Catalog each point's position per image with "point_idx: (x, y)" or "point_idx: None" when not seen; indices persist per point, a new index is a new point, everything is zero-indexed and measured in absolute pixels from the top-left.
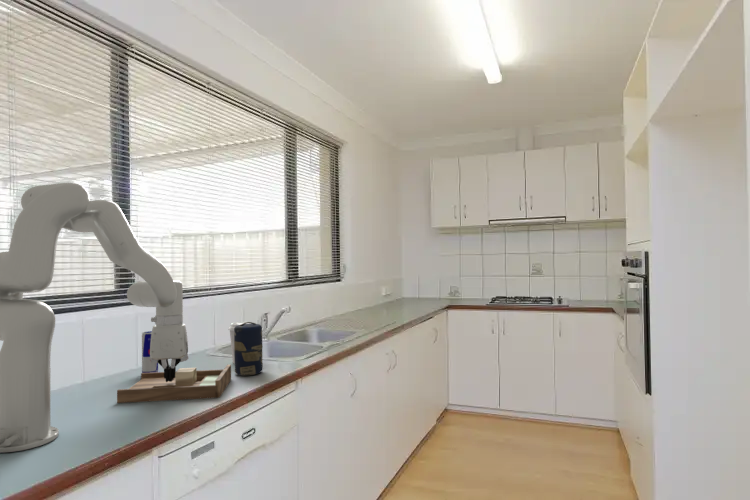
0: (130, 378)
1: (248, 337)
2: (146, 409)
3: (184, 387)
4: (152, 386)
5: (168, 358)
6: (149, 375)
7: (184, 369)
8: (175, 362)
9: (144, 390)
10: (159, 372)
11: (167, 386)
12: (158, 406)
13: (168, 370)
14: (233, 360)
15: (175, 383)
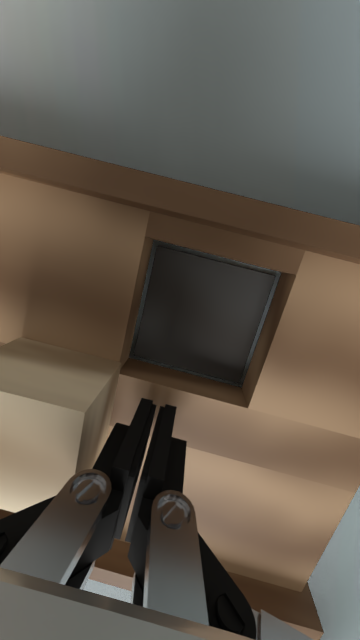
0: None
1: None
2: (286, 26)
3: (23, 142)
4: (255, 405)
5: (74, 595)
6: (272, 601)
7: (22, 477)
8: (33, 528)
9: (324, 218)
10: None
11: (169, 384)
12: (213, 74)
13: (142, 469)
14: None
15: (125, 412)
